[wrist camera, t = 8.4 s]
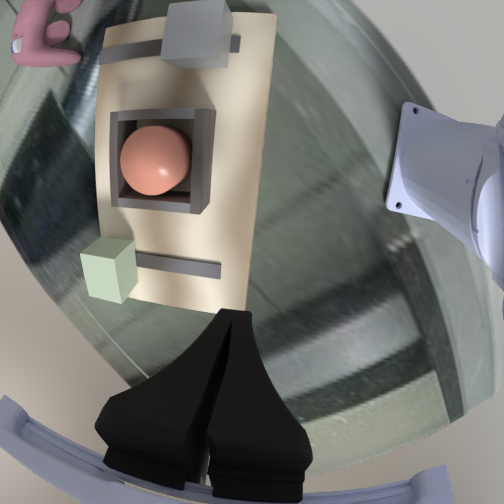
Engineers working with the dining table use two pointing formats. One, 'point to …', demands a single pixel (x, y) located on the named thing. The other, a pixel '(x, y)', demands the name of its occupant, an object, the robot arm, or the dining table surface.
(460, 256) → the dining table surface
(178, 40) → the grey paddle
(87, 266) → the pale green block
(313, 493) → the robot arm
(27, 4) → the video game controller
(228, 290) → the control board
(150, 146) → the pink round button
